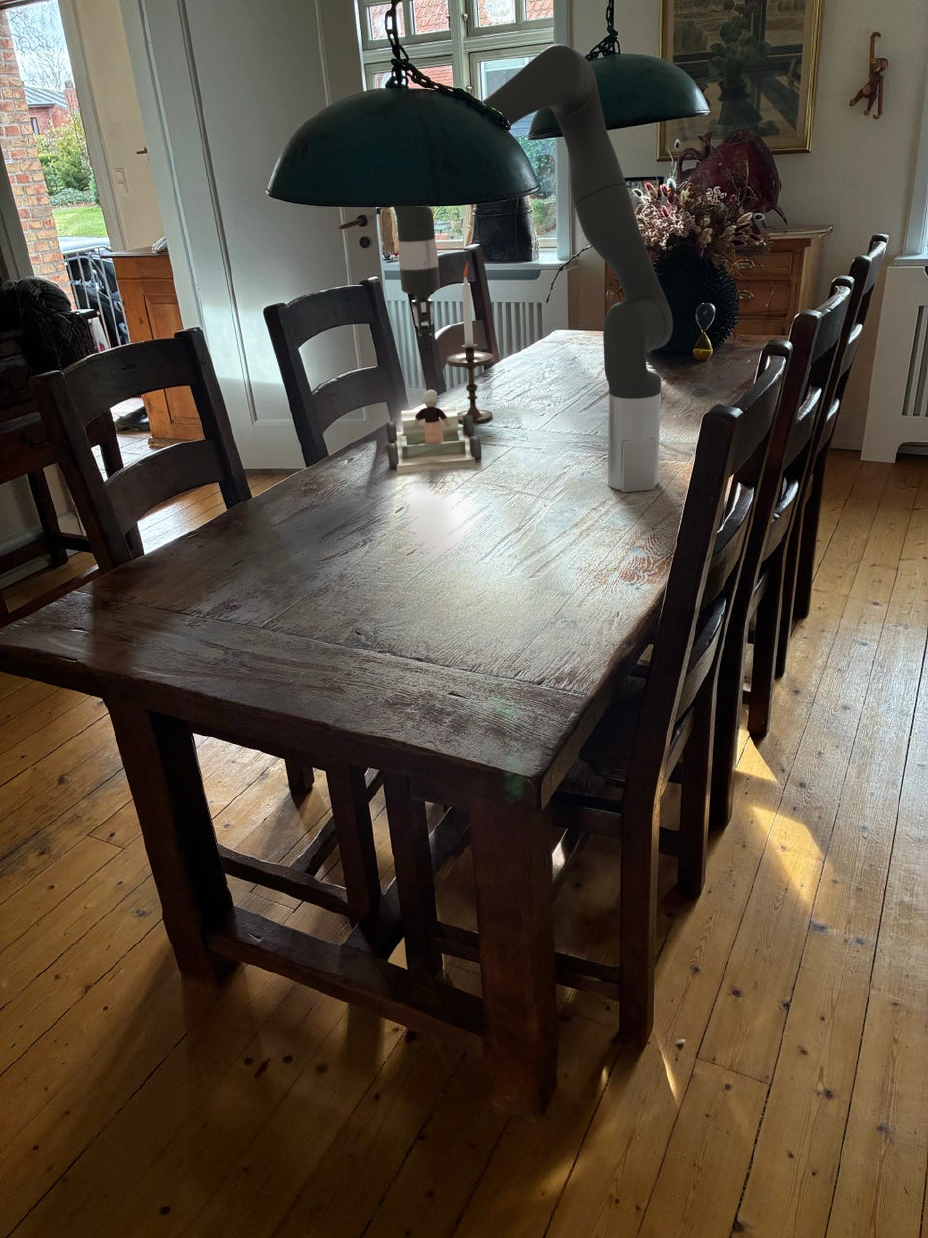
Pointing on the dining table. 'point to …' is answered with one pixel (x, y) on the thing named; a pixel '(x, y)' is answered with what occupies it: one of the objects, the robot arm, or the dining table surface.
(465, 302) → the candlestick
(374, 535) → the dining table surface
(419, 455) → the chassis
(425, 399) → the grandmother figurine
